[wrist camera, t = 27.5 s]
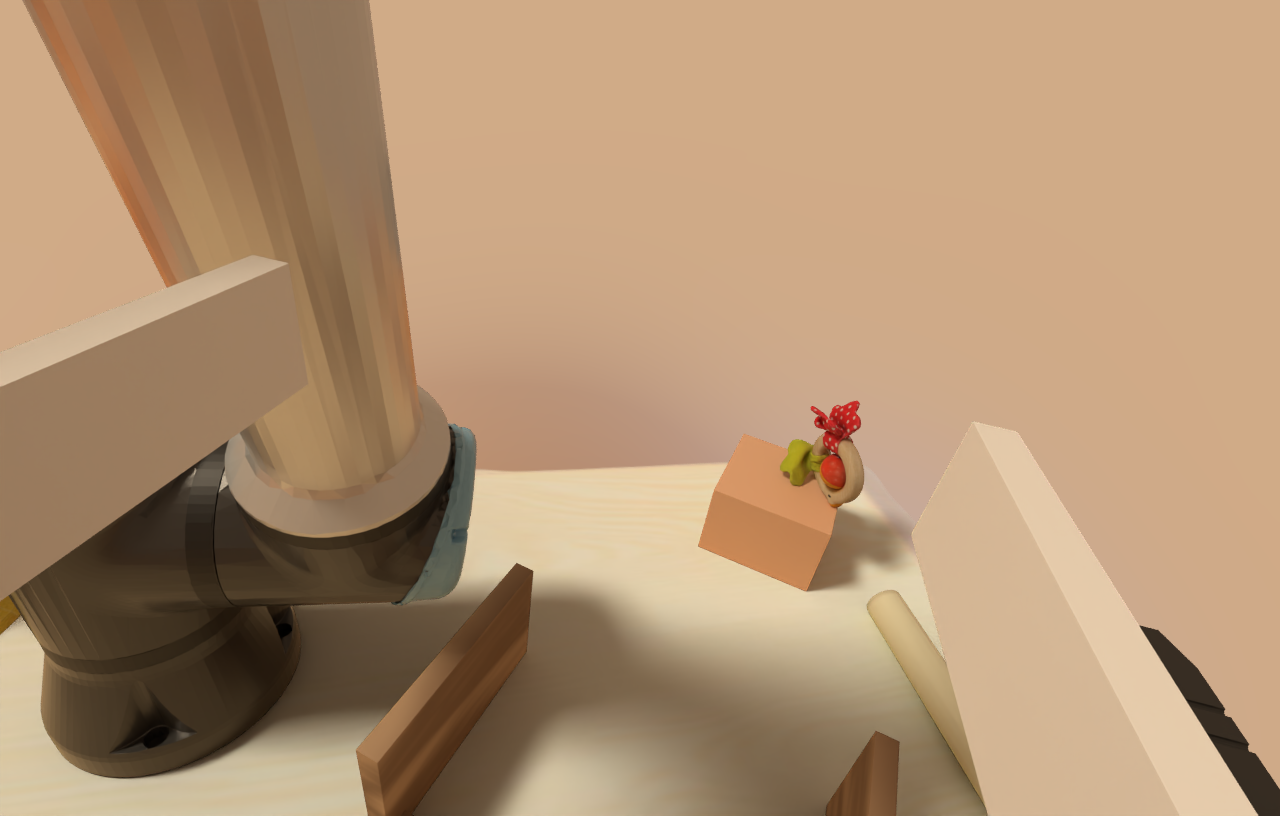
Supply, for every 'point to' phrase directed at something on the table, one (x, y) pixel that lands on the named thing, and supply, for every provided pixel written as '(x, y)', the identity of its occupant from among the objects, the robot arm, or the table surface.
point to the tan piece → (924, 672)
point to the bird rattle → (830, 456)
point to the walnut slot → (469, 680)
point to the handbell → (7, 613)
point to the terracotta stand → (768, 516)
